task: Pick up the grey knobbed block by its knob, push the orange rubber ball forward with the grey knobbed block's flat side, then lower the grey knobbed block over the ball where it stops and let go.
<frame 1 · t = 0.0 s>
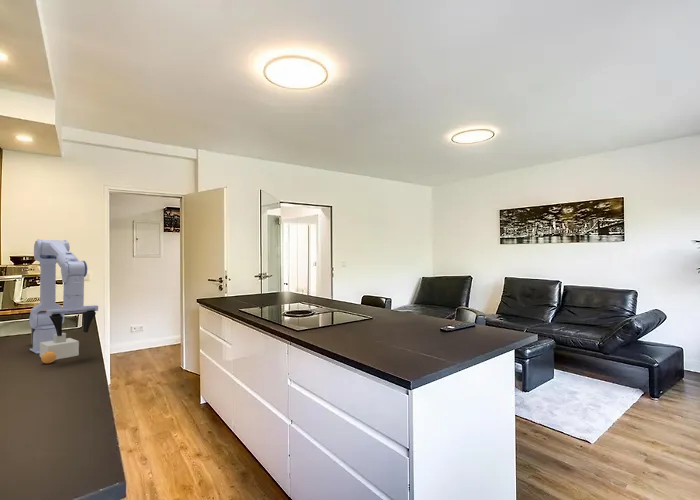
hand: (72, 333, 125), 10 cm above the countertop, tool pointing down, fingers open, 7 cm apart
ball: (48, 357, 125), on the countertop
grey knobbed block: (59, 356, 133), on the countertop
supplement bottle: (41, 344, 151), on the countertop
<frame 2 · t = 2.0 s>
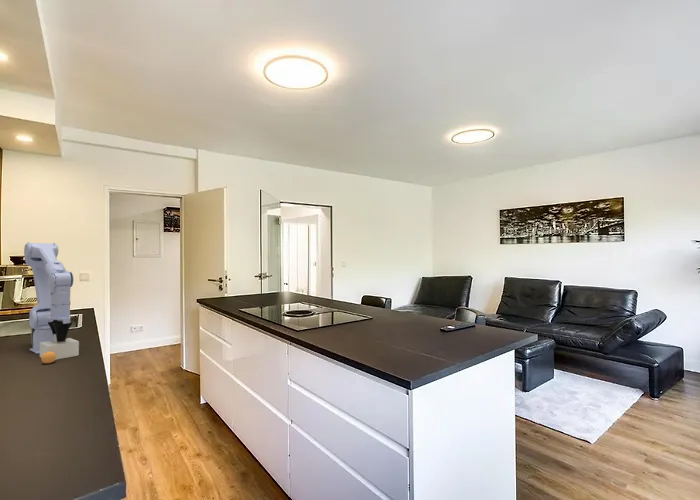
hand: (59, 340, 133), 6 cm above the countertop, tool pointing down, fingers closed on grey knobbed block, 3 cm apart
grey knobbed block: (59, 356, 133), on the countertop, touching gripper
everything else where it was.
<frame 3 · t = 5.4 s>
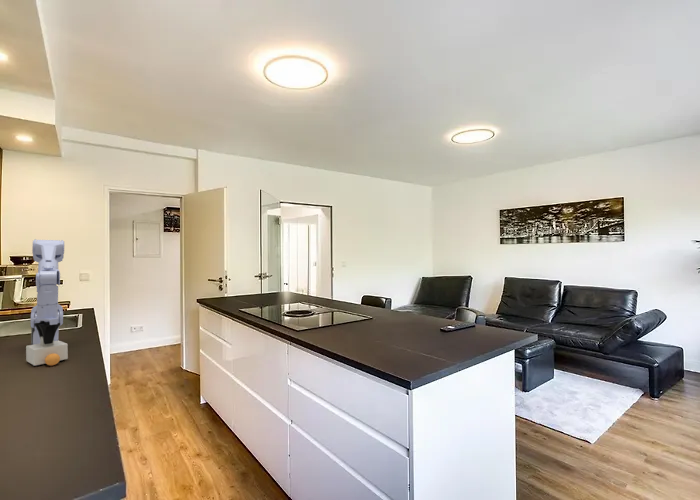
hand: (46, 342, 126), 7 cm above the countertop, tool pointing down, fingers closed on grey knobbed block, 3 cm apart
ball: (52, 359, 122), on the countertop
grey knobbed block: (47, 359, 126), point 1 cm above the countertop, touching gripper
everything else where it was.
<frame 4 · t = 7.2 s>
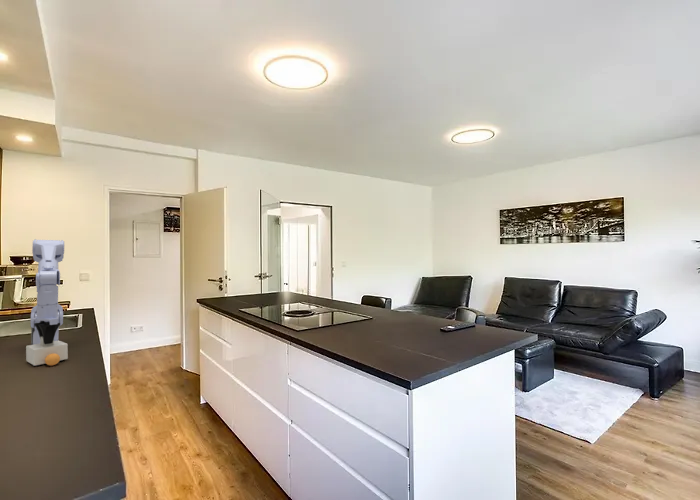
hand: (46, 342, 126), 7 cm above the countertop, tool pointing down, fingers closed on grey knobbed block, 3 cm apart
grey knobbed block: (47, 359, 126), point 1 cm above the countertop, touching gripper
everything else where it was.
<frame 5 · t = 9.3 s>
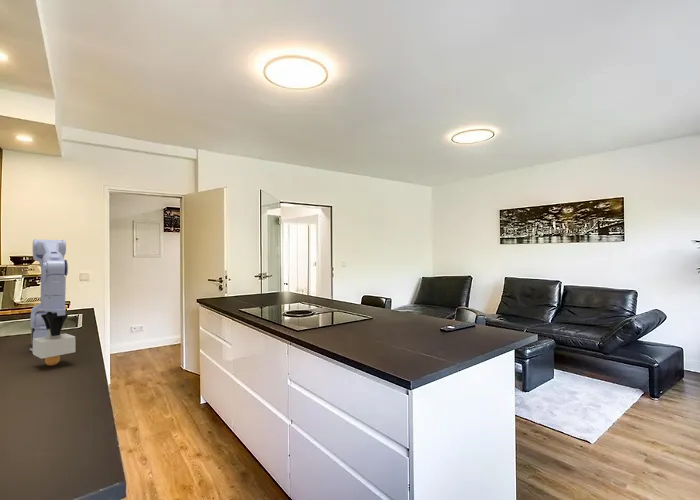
hand: (53, 334, 122), 10 cm above the countertop, tool pointing down, fingers closed on grey knobbed block, 3 cm apart
grey knobbed block: (54, 353, 122), point 4 cm above the countertop, touching gripper
everything else where it was.
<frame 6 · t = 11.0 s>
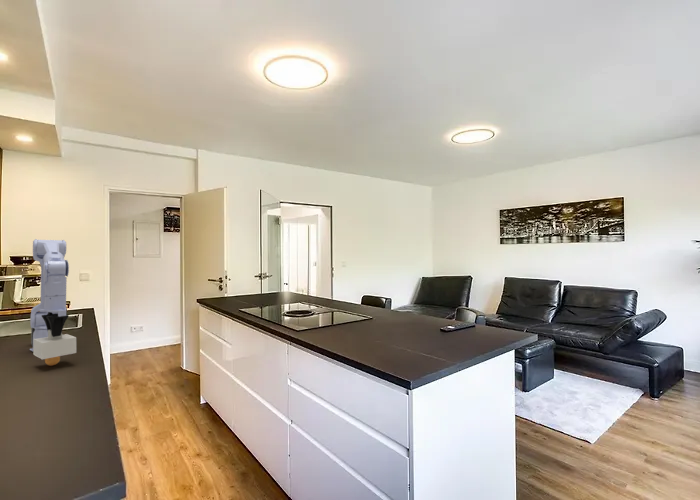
hand: (54, 335, 122), 10 cm above the countertop, tool pointing down, fingers closed on grey knobbed block, 3 cm apart
grey knobbed block: (55, 353, 122), point 4 cm above the countertop, touching gripper
everything else where it was.
when the fingers open (6 cm above the countertop, at t = 12.2 s): grey knobbed block stays where it is, on the countertop.
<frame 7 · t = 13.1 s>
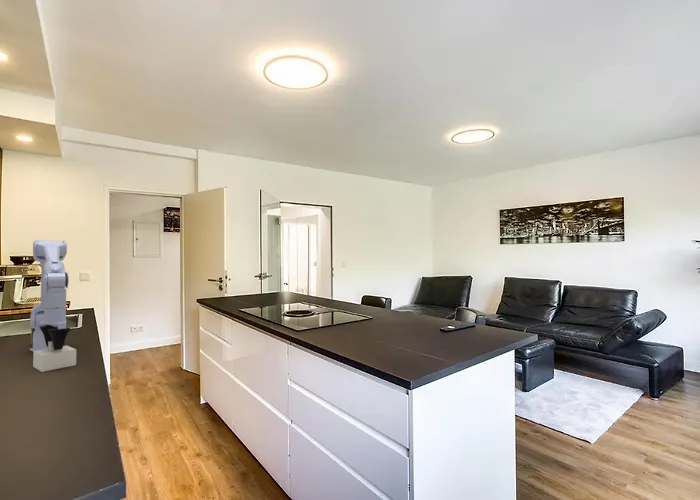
hand: (54, 347, 121), 6 cm above the countertop, tool pointing down, fingers open, 7 cm apart
grey knobbed block: (54, 365, 121), on the countertop
everything else where it was.
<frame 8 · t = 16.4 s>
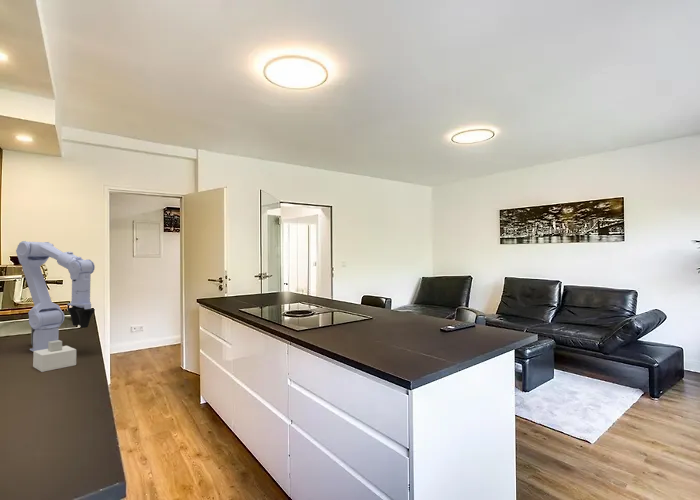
hand: (80, 326, 137), 10 cm above the countertop, tool pointing down, fingers open, 7 cm apart
nothing on the countertop moved.
at the end: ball 1.4 cm from the grey knobbed block (horizontally); grey knobbed block on the countertop; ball moved 4.1 cm from its start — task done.
